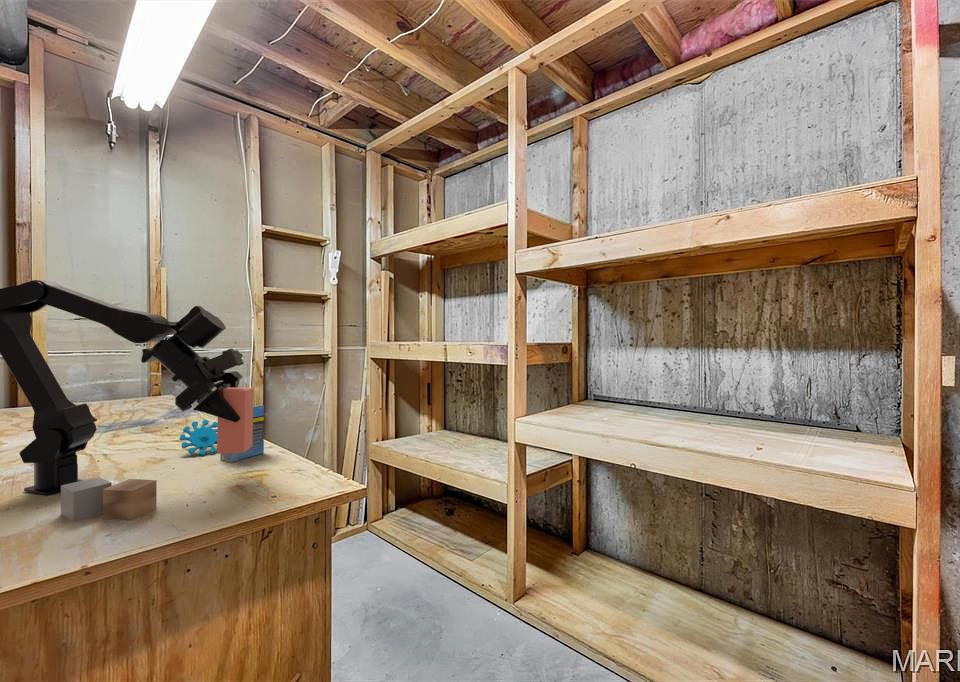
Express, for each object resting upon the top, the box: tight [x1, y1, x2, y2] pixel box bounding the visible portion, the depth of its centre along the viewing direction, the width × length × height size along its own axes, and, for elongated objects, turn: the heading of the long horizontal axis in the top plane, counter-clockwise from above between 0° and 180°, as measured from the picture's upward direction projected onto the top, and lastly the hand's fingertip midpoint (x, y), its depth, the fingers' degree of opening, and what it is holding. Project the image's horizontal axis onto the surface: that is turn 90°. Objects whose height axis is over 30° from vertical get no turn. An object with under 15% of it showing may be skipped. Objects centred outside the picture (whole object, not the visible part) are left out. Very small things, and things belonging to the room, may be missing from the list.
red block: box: [216, 387, 255, 454], centre depth 88 cm, size 5×5×12 cm
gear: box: [179, 419, 218, 457], centre depth 108 cm, size 11×6×10 cm
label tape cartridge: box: [219, 405, 265, 463], centre depth 104 cm, size 9×4×12 cm, turn 152°
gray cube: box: [60, 476, 113, 523], centre depth 73 cm, size 5×5×5 cm
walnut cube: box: [102, 478, 158, 521], centre depth 73 cm, size 5×5×5 cm
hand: (243, 417), depth 89 cm, fingers closed on red block, 5 cm apart
